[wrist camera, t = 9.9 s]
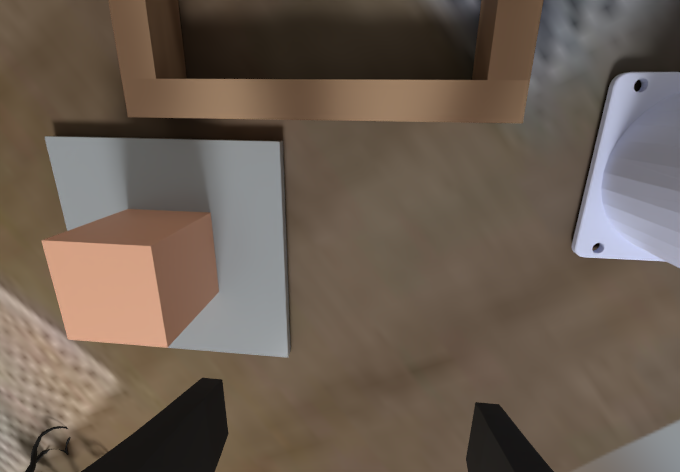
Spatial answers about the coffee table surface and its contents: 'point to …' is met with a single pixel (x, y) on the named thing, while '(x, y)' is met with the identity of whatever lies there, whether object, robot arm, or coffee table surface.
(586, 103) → the coffee table surface
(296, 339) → the coffee table surface
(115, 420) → the coffee table surface
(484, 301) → the coffee table surface
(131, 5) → the well frame
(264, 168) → the tile
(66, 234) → the terracotta block
